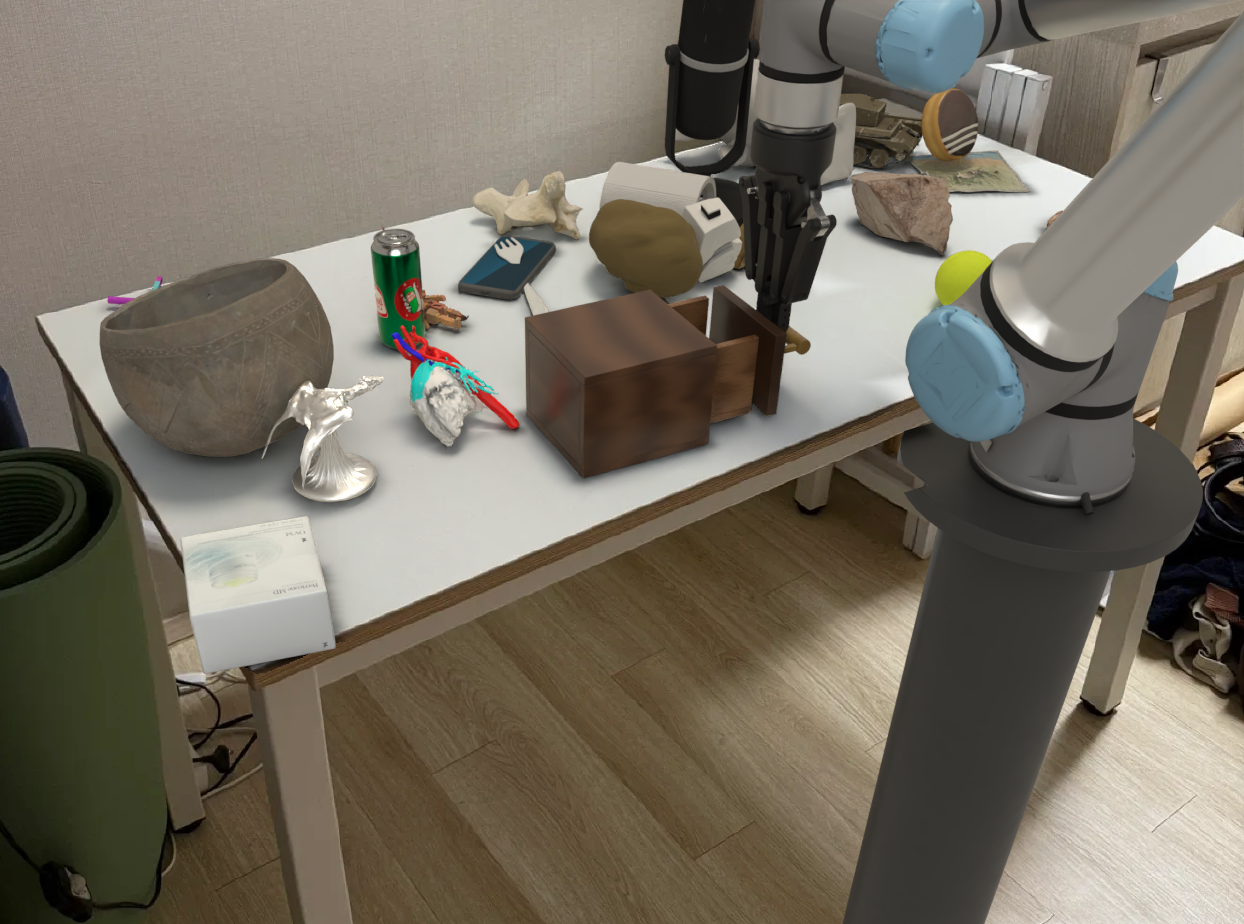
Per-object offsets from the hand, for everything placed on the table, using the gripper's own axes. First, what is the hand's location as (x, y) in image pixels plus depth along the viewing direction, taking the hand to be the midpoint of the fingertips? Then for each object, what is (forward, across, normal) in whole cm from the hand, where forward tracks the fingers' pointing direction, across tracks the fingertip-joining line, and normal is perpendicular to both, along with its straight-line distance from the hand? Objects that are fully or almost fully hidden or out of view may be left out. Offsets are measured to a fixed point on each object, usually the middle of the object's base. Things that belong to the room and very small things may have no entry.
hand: (768, 354), depth 130 cm
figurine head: (+2, +41, -42) cm, 59 cm away
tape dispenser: (+4, +27, -10) cm, 29 cm away
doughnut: (-6, +43, -57) cm, 72 cm away
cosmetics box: (+1, -7, +56) cm, 57 cm away
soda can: (+4, +27, +30) cm, 40 cm away
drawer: (+3, 0, +6) cm, 7 cm away
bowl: (+4, +13, +50) cm, 52 cm away
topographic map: (+4, +38, -59) cm, 70 cm away
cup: (0, +42, -4) cm, 42 cm away
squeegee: (+3, +48, +58) cm, 75 cm away
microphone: (+4, +43, -19) cm, 48 cm away
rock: (+4, +29, -18) cm, 34 cm away
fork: (+2, +33, +12) cm, 36 cm away
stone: (+4, +25, -37) cm, 45 cm away
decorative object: (+4, +42, +5) cm, 43 cm away
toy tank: (+4, +52, -49) cm, 71 cm away
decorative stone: (+3, +26, +3) cm, 27 cm away
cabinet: (+4, 0, +17) cm, 18 cm away
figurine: (+4, +4, +45) cm, 45 cm away
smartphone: (+4, +38, +12) cm, 40 cm away
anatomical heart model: (+4, +9, +32) cm, 33 cm away
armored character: (-1, +26, +23) cm, 34 cm away
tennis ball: (+1, +5, -31) cm, 31 cm away
